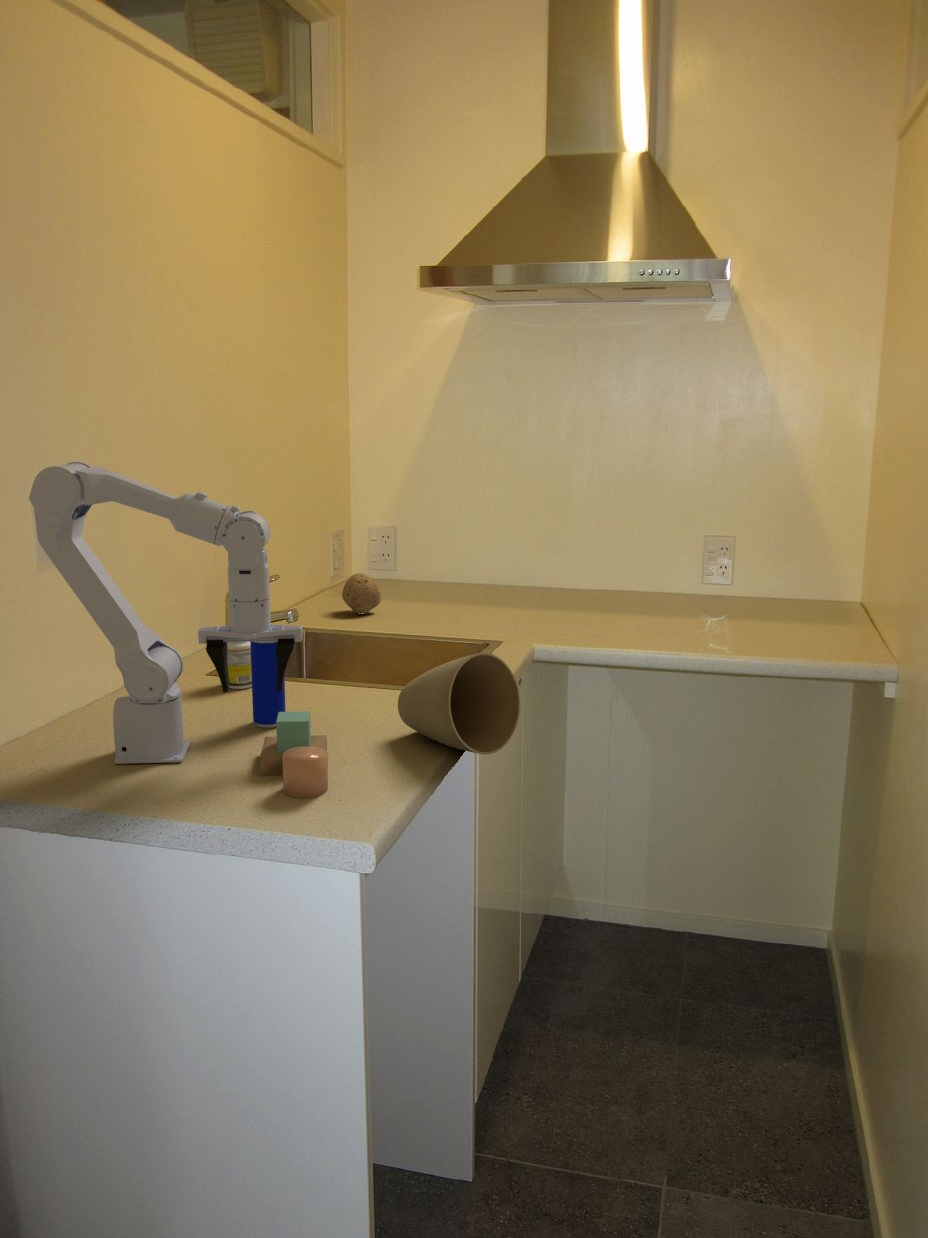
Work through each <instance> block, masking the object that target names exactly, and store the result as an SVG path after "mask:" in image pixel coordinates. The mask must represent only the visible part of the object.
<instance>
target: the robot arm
mask: <svg viewBox="0 0 928 1238" xmlns="http://www.w3.org/2000/svg"><path fill="white" fill-rule="evenodd" d="M28 500H29V502H30V504H31V505H32V508H33V512H34V522H35V528H36V534H37V540H38V541H37V542H38V543H39V546H40V547H41V549H42V550H43V551H44V553H45V554H46V555H47V557H48V558H49V559H50V560H51V562H52V564H53V565H54V566H55V568H56V569H57V571H58V572H59V574H61V577H62V578H63V580H65V582H66V583H67V585H68V586H69V588H70V589H71V590H72V592H73V593H74V595H76V597H77V599H78V600H79V601H80V603H81V604H82V606H83V607H84V608H85V610H86V611H87V613H88V614H89V615H90V617H91V618H92V620H93V621H94V622H95V624H96V625H97V626H98V628H99V629H100V631H101V632H102V633H103V635H104V636H105V637H106V639H107V640H108V641H109V643H110V645H111V646H112V648H113V650H114V651H113V652H114V660H115V666H116V667H117V668H118V670H119V672H120V673H121V676H122V679H123V685H124V689H125V691H126V692H127V694H128V696H119V697H117V698H116V699H115V702H114V705H113V711H112V712H113V713H112V725H113V727H112V728H113V736H114V737H113V739H114V752H115V753H114V754H115V755H114V756H115V758H114V763H115V764H116V765H117V764H118V765H119V764H121V765H123V764H125V765H126V764H128V765H129V764H154V763H155V764H157V763H158V764H159V763H181V762H183V761H184V759H185V757H186V755H187V753H188V750H189V748H190V745H191V741H190V740H184V739H185V737H184V722H183V703H182V701H183V700H182V690H181V688H180V687H179V685H178V683H177V680H178V679H179V678H180V677H181V675H182V673H183V670H184V661H183V658H182V656H181V654H180V652H178V650H176V649H175V648H174V647H172V646H171V645H168V644H167V643H166V642H165V641H164V640H163V639H162V638H161V636H160V635H159V634H158V633H157V632H155V631H154V630H151V629H150V628H148V627H147V626H146V625H145V624H144V622H143V621H142V620H141V618H140V617H139V615H138V614H137V613H136V611H135V610H134V609H133V607H132V605H131V604H130V603H129V601H128V600H127V599H126V598H127V597H125V596H124V594H123V593H122V591H121V590H120V589H119V587H118V586H117V584H116V583H115V581H114V580H113V578H112V577H111V576H110V574H109V573H108V571H107V570H106V569H105V568H104V566H103V563H101V562H100V560H99V559H98V557H97V556H96V554H95V553H94V552H93V550H92V549H91V548H90V546H89V544H88V543H87V542H86V540H85V539H84V537H83V536H82V533H83V529H84V524H85V521H86V518H87V514H88V513H89V511H90V509H91V507H92V506H94V505H97V504H103V503H111V502H114V503H117V504H121V505H123V506H127V507H129V508H132V509H136V510H138V511H139V510H140V511H143V512H146V513H149V514H153V515H155V516H158V517H162V518H164V519H168V520H169V521H170V523H171V525H172V527H173V528H174V530H175V531H176V532H177V533H181V534H183V535H186V536H189V537H192V538H193V539H194V538H195V539H198V540H201V541H203V542H206V543H208V544H211V545H213V546H217V547H220V546H222V547H223V548H224V550H225V551H226V552H227V561H228V566H227V581H228V582H227V583H228V584H227V587H228V609H229V610H228V611H229V612H228V613H229V625H220V626H219V625H218V626H210V627H209V626H208V627H207V626H206V627H204V626H203V627H200V628H199V629H197V633H198V634H197V635H198V639H197V640H198V644H200V645H201V644H203V645H204V644H205V645H206V647H205V652H206V654H207V656H208V657H209V659H210V661H211V662H212V664H213V666H214V667H215V671H216V672H217V674H218V678H219V681H220V683H221V688H222V693H229V690H230V688H229V674H228V664H227V642H255V641H278V642H277V645H276V656H277V691H282V689H283V678H284V676H285V673H286V669H287V665H288V662H289V660H290V658H291V655H292V653H293V651H294V648H295V644H296V643H302V641H303V626H302V625H283V624H272V622H271V621H272V618H271V598H270V597H271V595H270V594H271V593H270V589H271V588H270V567H269V564H268V560H269V555H268V548H267V547H265V546H267V544H268V543H269V540H270V537H271V528H270V525H269V523H268V521H267V520H266V519H265V518H264V517H263V516H262V515H260V514H259V513H257V512H255V511H254V510H243V511H240V510H241V507H240V506H238V505H235V504H233V505H231V506H228V505H225V504H224V503H223V504H222V503H220V502H217V501H214V500H212V499H209V498H208V494H207V493H205V492H203V491H198V492H196V494H195V493H192V492H186V493H185V494H183V495H181V496H179V497H177V496H175V495H172V494H171V493H166V492H165V491H162V490H160V489H157V488H155V487H152V486H150V485H147V484H146V483H143V482H141V481H137V480H135V479H132V478H130V477H127V476H125V475H123V474H120V473H118V472H116V471H113V470H110V469H107V468H104V467H100V466H96V465H95V466H92V465H89V464H87V463H85V462H82V461H71V462H68V463H66V464H63V465H55V466H54V465H52V466H47V467H46V468H43V469H42V470H40V471H39V472H38V473H37V475H36V476H35V478H34V480H33V483H32V486H31V490H30V492H29V496H28Z"/></svg>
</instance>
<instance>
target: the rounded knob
mask: <svg viewBox="0 0 928 1238" xmlns="http://www.w3.org/2000/svg"><path fill="white" fill-rule="evenodd" d="M328 789H329V753H328V750H327V751H326V750H324V749H322V748H318V747H310V746H303V747H295V748H291V749H288V750H286V751H285V752H284V753H283V775H282V793H284V794H285V795H286V796H288V797H293V798H296V799H310V798H311V799H312V798H316V797H321V796H322V795H324V794H326V793H327V791H328Z"/></svg>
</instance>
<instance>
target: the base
mask: <svg viewBox="0 0 928 1238" xmlns="http://www.w3.org/2000/svg"><path fill="white" fill-rule="evenodd" d="M327 737H328V735H325V734H319V735H318V734H317V735H311V744H310V747H318V748H322V749H324V750H326V751H327V752H328V738H327ZM283 753H284V752H277V735H276V736H265V737H264V739H263V744H262V749H261V751H260V755H259V776H280V775H281V776H283Z"/></svg>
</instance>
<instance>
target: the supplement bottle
mask: <svg viewBox="0 0 928 1238" xmlns="http://www.w3.org/2000/svg"><path fill="white" fill-rule="evenodd" d="M227 664H228V674H229V689H230V690H231V689H233V690H245V689H249V688H252V675H251V648H250V642H227Z"/></svg>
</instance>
